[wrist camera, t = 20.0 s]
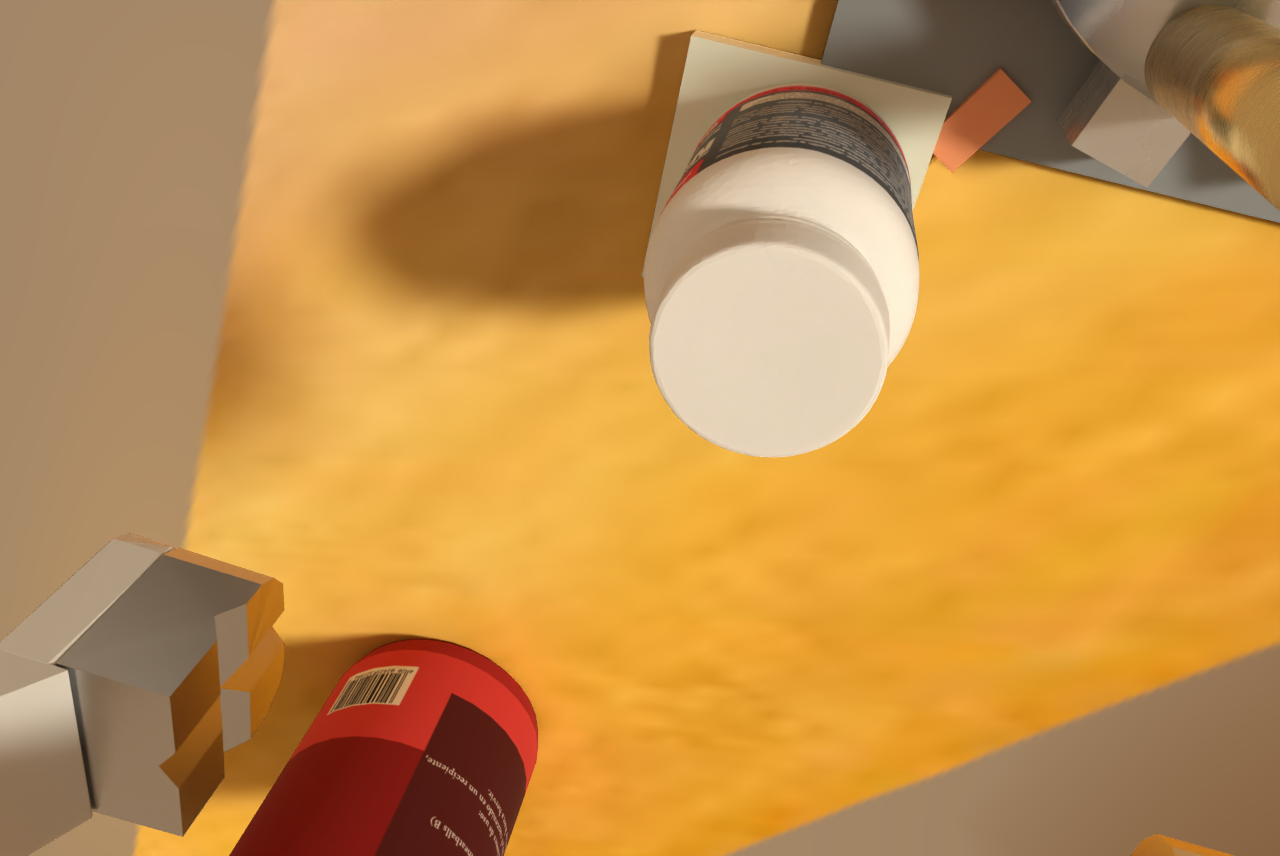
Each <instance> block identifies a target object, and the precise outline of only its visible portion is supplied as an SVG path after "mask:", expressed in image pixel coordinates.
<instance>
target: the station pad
mask: <svg viewBox="0 0 1280 856" xmlns="http://www.w3.org/2000/svg"><path fill="white" fill-rule="evenodd" d="M821 62H822V60H819V59H815V58H811V57H807V56H802V55H798V54H794V53H790V52H786V51H782V50H777V49H773V48H769V47H765V46H761V45H757V44H752V43H748V42H744V41H740V40H736V39H732V38H728V37H723V36H719V35H715V34H711V33H707V32H703V31H698V30H696V31H695V32H694V33H693V34H692V35H691V39H690V44H689V49H688V54H687V58H686V63H685V68H684V73H683V78H682V82H681V87H680V92H679V97H678V102H677V107H676V111H675V116H674V121H673V126H672V131H671V136H670V140H669V145H668V150H667V155H666V160H665V164H664V169H663V174H662V179H661V184H660V189H659V193H658V198H657V203H656V208H655V213H654V218H653V222H652V227H651V232H650V237H649V242H650V239H651V236H652V233H653V231H654V228H655V226H656V223H657V221H658V219H659V217H660V215H661V212H662V211H663V208H664V207H665V205H666V203H667V201H668V200H669V198H670V196H671V195H672V193H673V191H674V189H675V188H676V186H677V184H678V182H679V180H680V178H681V176H682V175H683V173H684V171H685V169H686V167H687V165H688V163H689V161H690V159H691V157H692V155H693V154H694V152H695V150H696V148H697V146H698V144H699V142H700V141H701V139H702V138H703V136H704V135H705V133H706V132H707V130H708V129H709V128H710V126H711V125H712V124H713V123H714V122H715V120H716V119H717V118H718V117H719V116H720V115H721V114H722V113H723V112H725V111H726V110H727V109H728V108H730V107H731V106H732V105H734V104H735V103H737V102H738V101H740V100H741V99H743V98H745V97H747V96H749V95H751V94H753V93H755V92H757V91H760V90H763V89H766V88H769V87H773V86H777V85H783V84H791V83H810V84H818V85H824V86H829V87H832V88H835V89H838V90H841V91H843V92H846V93H848V94H850V95H852V96H854V97H856V98H858V99H860V100H861V101H863V102H864V103H865V104H867V105H868V106H870V107H871V108H872V109H873V110H874V111H876V112H877V113H878V114H879V115H880V116H881V117H882V118H883V119H884V120H885V122H886V123H887V124H888V126H889V127H890V128H891V129H892V131H893V133H894V134H895V136H896V138H897V140H898V141H899V143H900V145H901V148H902V150H903V153H904V156H905V159H906V162H907V165H908V170H909V176H910V181H911V197H912V212H913V209H914V206H915V203H916V200H917V197H918V194H919V192H920V189H921V186H922V183H923V180H924V177H925V174H926V172H927V169H928V166H929V163H930V160H931V157H932V154H933V152H934V149H935V146H936V143H937V140H938V137H939V134H940V132H941V129H942V126H943V123H944V120H945V117H946V114H947V111H948V109H949V106H950V103H951V100H952V97H951V95H947V94H943V93H938V92H934V91H930V90H926V89H922V88H918V87H913V86H909V85H905V84H901V83H897V82H893V81H889V80H884V79H880V78H876V77H872V76H868V75H864V74H859V73H855V72H851V71H847V70H843V69H839V68H835V67H830V66H826V65H822V64H821ZM649 242H648V245H649ZM647 250H648V246H647ZM646 254H647V251H646ZM645 259H646V256H645ZM644 266H645V261H644ZM644 266H643V271H642V275H641V277H644Z"/></svg>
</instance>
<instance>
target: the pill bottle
mask: <svg viewBox="0 0 1280 856" xmlns="http://www.w3.org/2000/svg"><path fill="white" fill-rule="evenodd" d="M644 293H645V301H646V307H647V311H648V316H649V319H650V323H651V328H650V336H649V350H650V361H651V366H652V371H653V374H654V378H655V381H656V383H657V385H658V387H659V390H660V392H661V394H662V396H663V398H664V399H665V401H666V402H667V404H668V405H669V407H670V408H671V410H672V411H673V412H674V413H675V414H676V416H677V417H678V418H679V419H680V420H681V421H682V422H684V423H685V424H686V425H687V426H688V427H689V428H690V429H691V430H693V431H694V432H695V433H697V434H698V435H699V436H701V437H702V438H704V439H706V440H708V441H709V442H711V443H713V444H715V445H718V446H720V447H722V448H724V449H727V450H730V451H733V452H736V453H741V454H746V455H750V456H757V457H786V456H794V455H798V454H803V453H807V452H810V451H813V450H816V449H819V448H821V447H824V446H826V445H828V444H830V443H832V442H834V441H836V440H837V439H839V438H840V437H842V436H843V435H845V434H846V433H847V432H848V431H850V430H851V429H852V428H854V427H855V426H856V425H857V424H858V423H859V422H860V421H861V420H862V419H863V418H864V416H865V415H866V414H867V413H868V412H869V410H870V409H871V407H872V405H873V404H874V402H875V400H876V399H877V397H878V395H879V392H880V390H881V388H882V385H883V382H884V379H885V376H886V372H887V367H888V366H889V364H890V363H891V362H892V361H893V360H894V358H895V357H896V356H897V354H898V353H899V351H900V350H901V348H902V346H903V344H904V342H905V340H906V338H907V336H908V334H909V332H910V329H911V326H912V323H913V320H914V317H915V313H916V308H917V303H918V294H919V254H918V247H917V240H916V234H915V227H914V221H913V213H912V197H911V181H910V176H909V170H908V165H907V162H906V159H905V156H904V153H903V150H902V148H901V145H900V143H899V141H898V140H897V138H896V136H895V134H894V133H893V131H892V129H891V128H890V127H889V126H888V124H887V123H886V122H885V120H884V119H883V118H882V117H881V116H880V115H879V114H878V113H877V112H876V111H874V110H873V109H872V108H871V107H870V106H868V105H867V104H865V103H864V102H863V101H861V100H860V99H858V98H856V97H854V96H852V95H850V94H848V93H846V92H843V91H841V90H838V89H835V88H832V87H829V86H824V85H818V84H810V83H791V84H783V85H777V86H773V87H769V88H766V89H763V90H760V91H757V92H755V93H753V94H751V95H749V96H747V97H745V98H743V99H741V100H740V101H738V102H737V103H735V104H734V105H732V106H731V107H730V108H728V109H727V110H726V111H725V112H723V113H722V114H721V115H720V116H719V117H718V118H717V119H716V120H715V122H714V123H713V124H712V125H711V126H710V128H709V129H708V130H707V132H706V133H705V135H704V136H703V138H702V139H701V141H700V142H699V144H698V146H697V148H696V150H695V152H694V154H693V155H692V157H691V159H690V161H689V163H688V165H687V167H686V169H685V171H684V173H683V175H682V176H681V178H680V180H679V182H678V184H677V186H676V188H675V189H674V191H673V193H672V195H671V196H670V198H669V200H668V201H667V203H666V205H665V207H664V208H663V211H662V212H661V215H660V217H659V219H658V221H657V223H656V226H655V228H654V231H653V233H652V236H651V239H650V242H649V245H648V250H647V254H646V259H645V266H644Z"/></svg>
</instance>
